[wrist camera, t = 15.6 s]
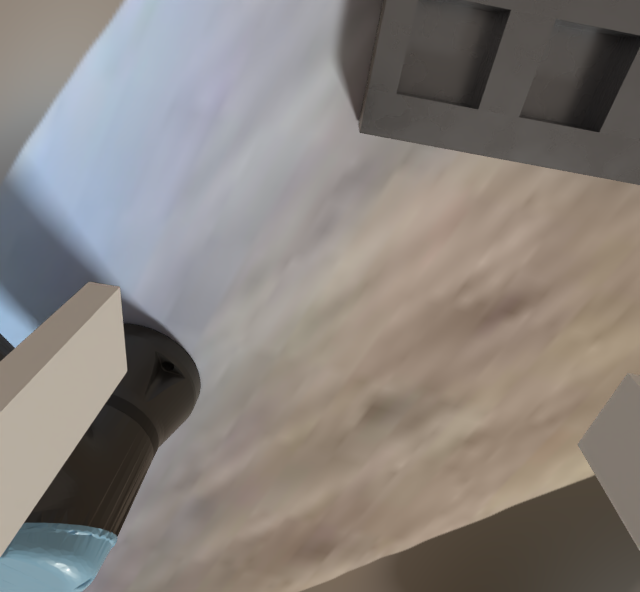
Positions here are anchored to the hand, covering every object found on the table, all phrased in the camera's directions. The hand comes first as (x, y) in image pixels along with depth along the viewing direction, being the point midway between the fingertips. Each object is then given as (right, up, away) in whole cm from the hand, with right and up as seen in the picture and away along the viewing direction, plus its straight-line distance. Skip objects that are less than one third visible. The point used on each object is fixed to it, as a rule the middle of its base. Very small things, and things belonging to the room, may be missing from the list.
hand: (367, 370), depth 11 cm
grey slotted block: (+17, +19, +21) cm, 33 cm away
